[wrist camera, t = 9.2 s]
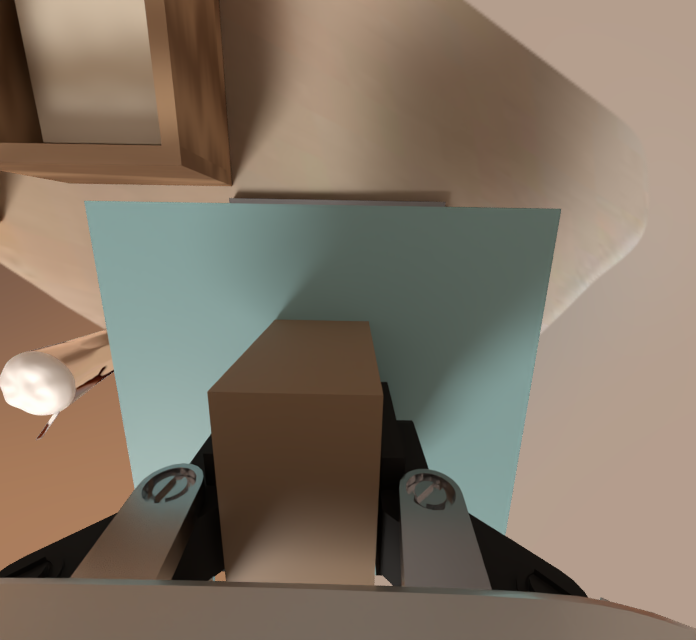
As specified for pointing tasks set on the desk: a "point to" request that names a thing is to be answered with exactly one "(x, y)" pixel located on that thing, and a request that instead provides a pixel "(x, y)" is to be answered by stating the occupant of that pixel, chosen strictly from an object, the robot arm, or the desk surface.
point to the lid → (321, 359)
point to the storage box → (113, 92)
